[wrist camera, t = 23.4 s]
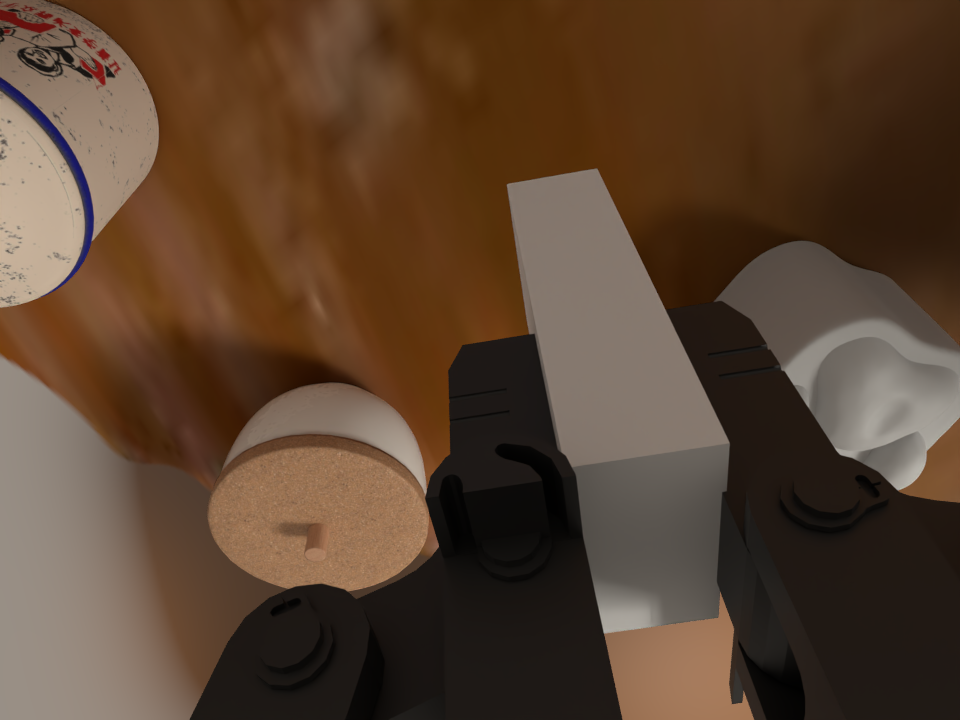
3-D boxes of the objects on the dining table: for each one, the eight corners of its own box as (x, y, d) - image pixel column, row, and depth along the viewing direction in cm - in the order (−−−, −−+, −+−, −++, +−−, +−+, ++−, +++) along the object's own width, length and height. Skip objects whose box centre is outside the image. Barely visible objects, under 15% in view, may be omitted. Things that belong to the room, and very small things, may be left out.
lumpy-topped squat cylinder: (926, 294, 38) (1035, 397, 31) (771, 457, 45) (832, 571, 38) (773, 222, 35) (856, 317, 28) (631, 408, 42) (670, 523, 35)
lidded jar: (201, 393, 40) (146, 525, 32) (369, 318, 37) (352, 441, 30) (310, 509, 46) (285, 643, 38) (461, 450, 43) (466, 581, 36)
